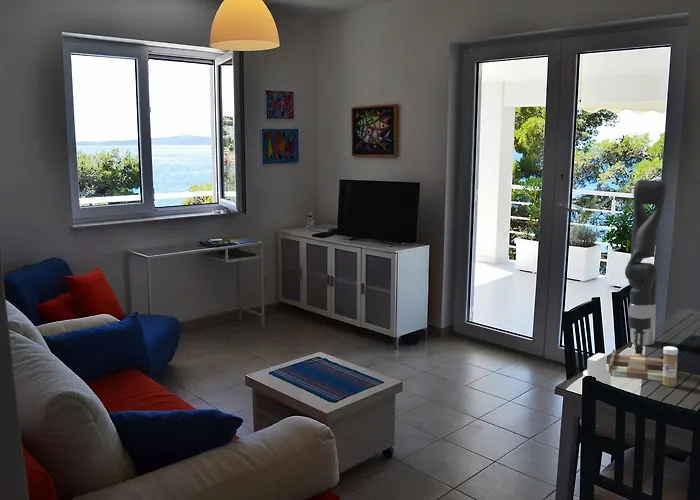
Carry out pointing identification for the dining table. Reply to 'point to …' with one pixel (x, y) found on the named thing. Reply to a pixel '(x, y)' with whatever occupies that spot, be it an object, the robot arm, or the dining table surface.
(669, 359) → the sprinkles bottle
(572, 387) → the dining table surface
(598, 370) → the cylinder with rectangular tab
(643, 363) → the beech block
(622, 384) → the dining table surface
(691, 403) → the dining table surface
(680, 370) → the dining table surface
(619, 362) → the trap deck
